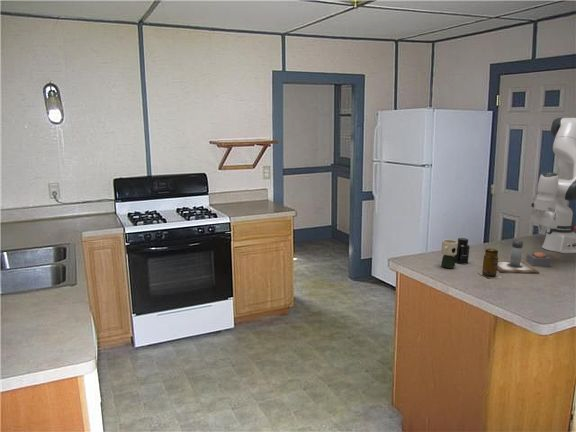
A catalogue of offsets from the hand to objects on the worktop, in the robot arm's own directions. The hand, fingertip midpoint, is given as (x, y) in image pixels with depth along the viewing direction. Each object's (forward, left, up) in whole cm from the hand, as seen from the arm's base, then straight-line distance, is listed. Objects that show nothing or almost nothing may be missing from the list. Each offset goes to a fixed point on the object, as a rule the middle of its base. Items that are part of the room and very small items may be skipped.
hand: (541, 234), depth 234 cm
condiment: (+31, +20, -16) cm, 40 cm away
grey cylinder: (+15, +8, -14) cm, 22 cm away
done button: (0, 0, -12) cm, 12 cm away
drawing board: (+16, +8, -15) cm, 23 cm away
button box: (0, 0, -15) cm, 15 cm away
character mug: (+47, +9, -16) cm, 50 cm away
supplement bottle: (+38, 0, -16) cm, 41 cm away
